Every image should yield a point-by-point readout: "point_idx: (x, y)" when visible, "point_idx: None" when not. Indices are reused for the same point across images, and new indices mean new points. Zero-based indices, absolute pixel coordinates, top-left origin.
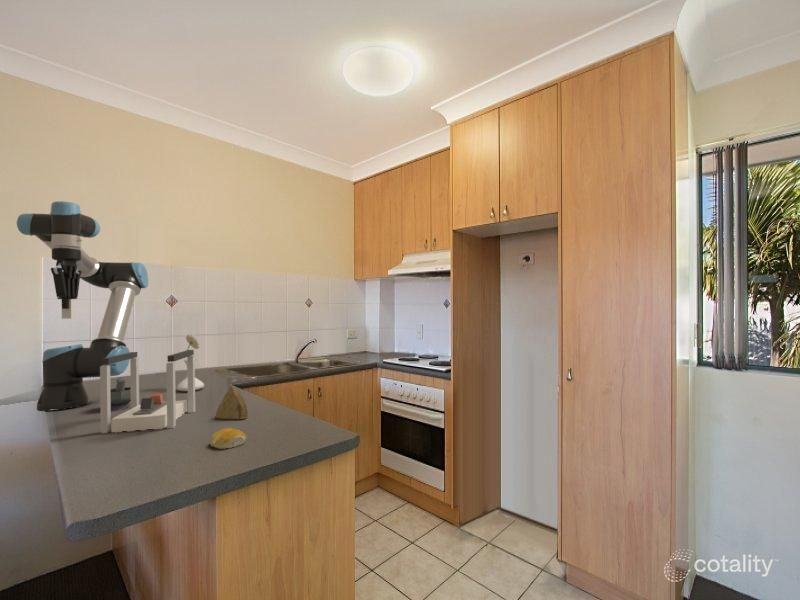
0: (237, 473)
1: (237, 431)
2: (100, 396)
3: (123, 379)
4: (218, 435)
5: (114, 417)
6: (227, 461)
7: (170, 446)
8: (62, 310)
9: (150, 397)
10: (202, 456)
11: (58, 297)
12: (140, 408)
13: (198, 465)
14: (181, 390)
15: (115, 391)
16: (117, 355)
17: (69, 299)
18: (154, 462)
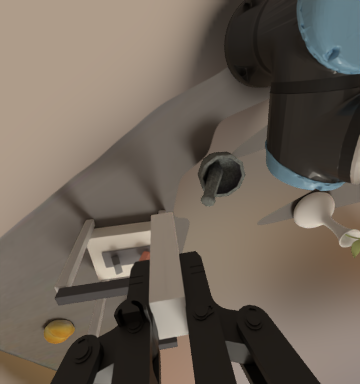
0: (2, 349)
1: (55, 343)
2: (72, 250)
3: (207, 205)
4: (51, 332)
5: (92, 238)
6: (22, 339)
7: (49, 297)
8: (151, 244)
9: (139, 259)
10: (29, 324)
11: (116, 319)
12: (111, 258)
13: (11, 329)
14: (296, 205)
15: (210, 178)
16: (107, 291)
17: (157, 332)
18: (11, 304)
